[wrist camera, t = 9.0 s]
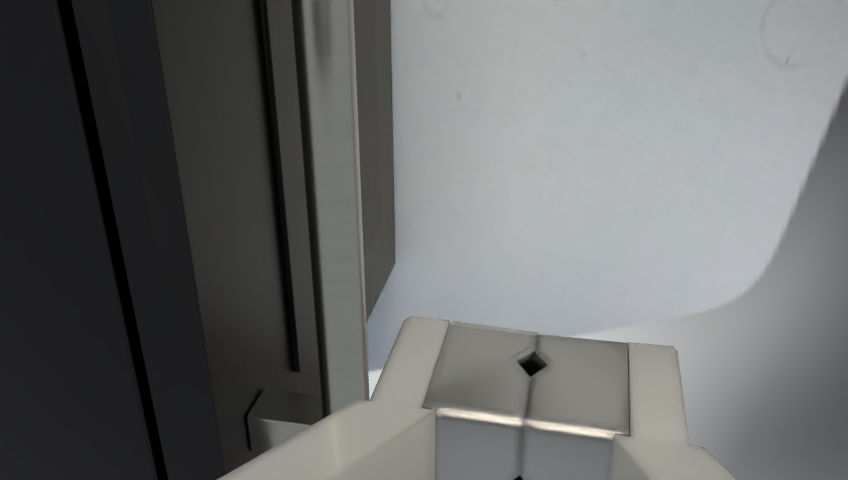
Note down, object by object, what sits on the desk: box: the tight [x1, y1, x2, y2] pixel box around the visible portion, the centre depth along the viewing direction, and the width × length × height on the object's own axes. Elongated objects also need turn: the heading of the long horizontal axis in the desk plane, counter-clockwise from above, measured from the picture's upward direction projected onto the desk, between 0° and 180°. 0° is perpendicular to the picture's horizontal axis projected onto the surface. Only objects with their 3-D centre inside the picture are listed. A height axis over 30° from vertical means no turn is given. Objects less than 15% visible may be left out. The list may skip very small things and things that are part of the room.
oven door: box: [71, 0, 395, 480], centre depth 23 cm, size 5×24×18 cm, turn 0°
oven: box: [0, 0, 168, 480], centre depth 24 cm, size 14×24×18 cm, turn 0°
